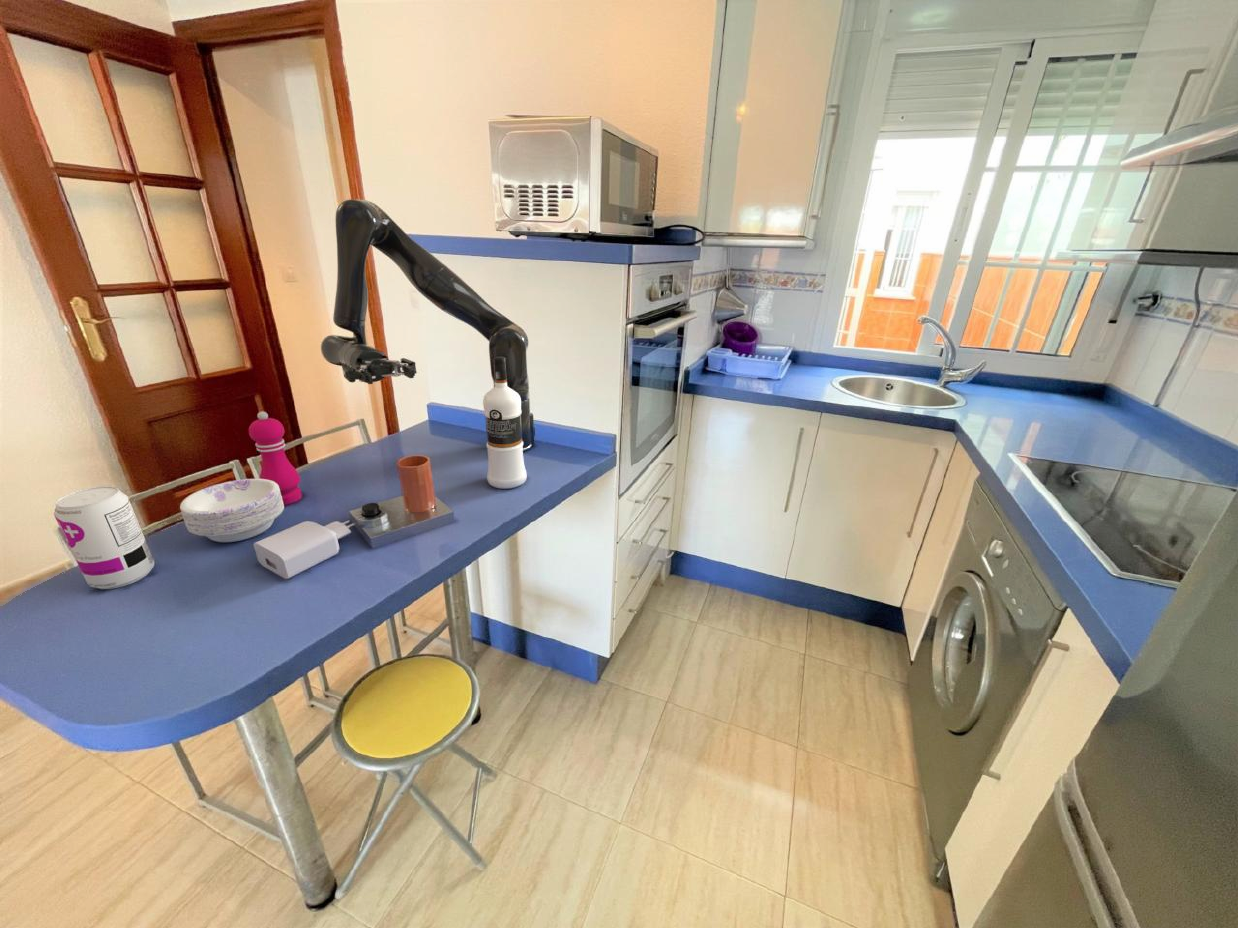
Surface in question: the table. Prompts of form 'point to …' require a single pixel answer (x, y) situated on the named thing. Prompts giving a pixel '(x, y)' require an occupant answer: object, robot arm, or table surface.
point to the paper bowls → (233, 509)
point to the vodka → (504, 432)
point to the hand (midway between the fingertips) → (391, 376)
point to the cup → (416, 483)
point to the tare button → (370, 510)
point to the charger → (300, 547)
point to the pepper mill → (275, 457)
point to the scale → (398, 521)
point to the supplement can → (104, 536)
